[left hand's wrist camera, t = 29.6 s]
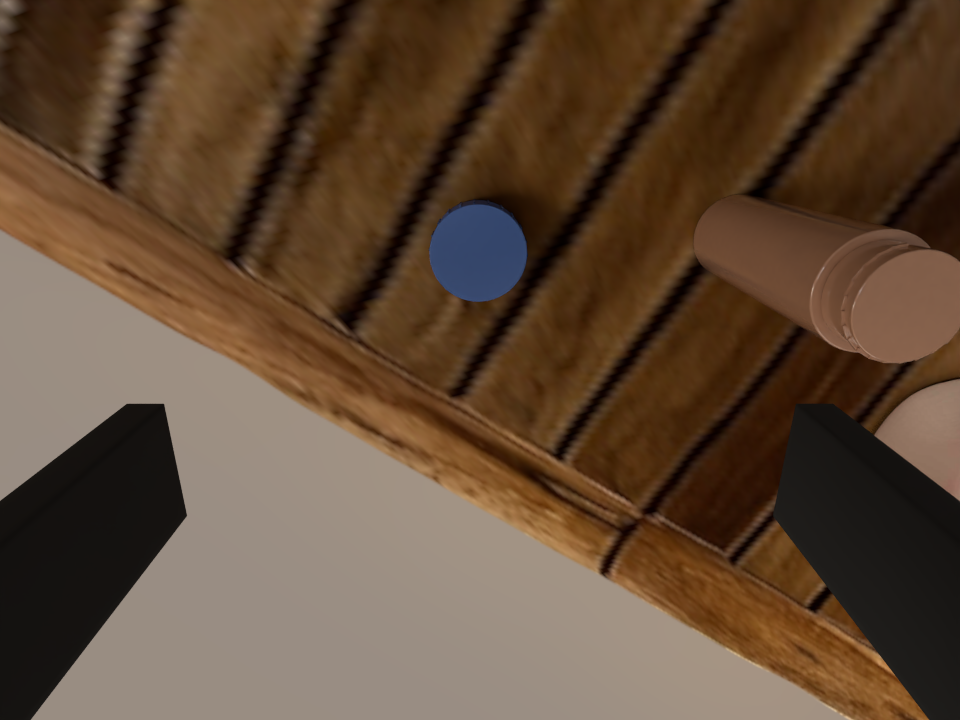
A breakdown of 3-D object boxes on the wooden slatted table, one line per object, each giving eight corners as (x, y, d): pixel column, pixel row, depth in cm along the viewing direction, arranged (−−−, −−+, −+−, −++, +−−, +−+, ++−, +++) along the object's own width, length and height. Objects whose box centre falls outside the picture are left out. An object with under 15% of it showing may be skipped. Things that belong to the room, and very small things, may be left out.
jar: (676, 250, 38) (811, 330, 23) (728, 177, 37) (912, 210, 21) (739, 291, 39) (910, 395, 24) (793, 222, 37) (1014, 285, 22)
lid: (542, 227, 38) (546, 233, 35) (496, 308, 39) (498, 319, 37) (458, 180, 37) (457, 184, 34) (415, 266, 38) (411, 275, 36)
